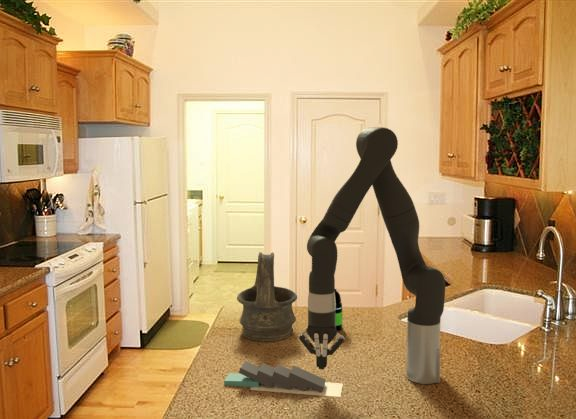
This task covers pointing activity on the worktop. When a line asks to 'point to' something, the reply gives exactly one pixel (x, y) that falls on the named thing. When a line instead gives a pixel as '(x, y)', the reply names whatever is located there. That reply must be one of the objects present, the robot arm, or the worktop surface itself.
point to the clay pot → (266, 305)
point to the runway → (328, 390)
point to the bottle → (338, 311)
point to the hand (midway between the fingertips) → (321, 368)
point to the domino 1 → (240, 380)
